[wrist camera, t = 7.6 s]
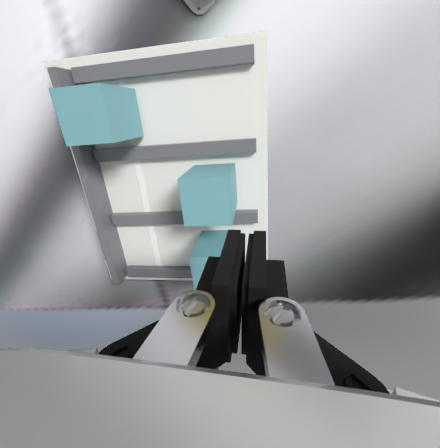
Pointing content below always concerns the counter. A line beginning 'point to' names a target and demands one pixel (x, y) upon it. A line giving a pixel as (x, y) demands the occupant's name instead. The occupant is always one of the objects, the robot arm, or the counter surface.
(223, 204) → the light teal block
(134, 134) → the teal rectangular block
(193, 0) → the emergency button
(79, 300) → the counter surface
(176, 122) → the white ridged tray
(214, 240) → the teal rectangular block
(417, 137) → the counter surface
